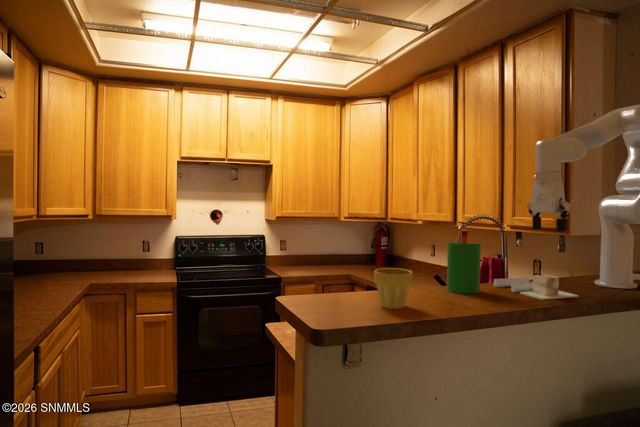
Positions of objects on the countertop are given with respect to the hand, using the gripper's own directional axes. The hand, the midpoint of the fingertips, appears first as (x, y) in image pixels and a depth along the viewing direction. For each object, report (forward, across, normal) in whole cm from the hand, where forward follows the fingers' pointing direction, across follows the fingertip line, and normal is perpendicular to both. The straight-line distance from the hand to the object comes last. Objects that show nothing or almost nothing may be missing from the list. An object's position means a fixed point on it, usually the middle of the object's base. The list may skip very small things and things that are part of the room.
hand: (548, 230), depth 151 cm
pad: (+20, +6, -7) cm, 22 cm away
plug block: (+19, +6, -8) cm, 22 cm away
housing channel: (+20, -6, -6) cm, 21 cm away
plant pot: (+17, +4, -61) cm, 63 cm away
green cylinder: (+19, -7, -28) cm, 35 cm away
